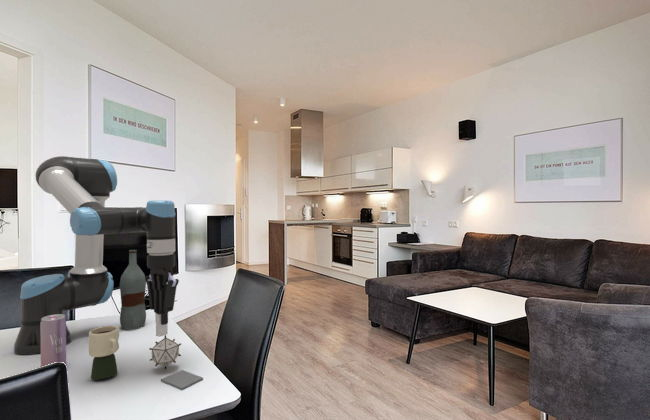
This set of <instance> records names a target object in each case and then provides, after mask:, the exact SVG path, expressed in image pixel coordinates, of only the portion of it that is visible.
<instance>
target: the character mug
mask: <svg viewBox="0 0 650 420" xmlns="http://www.w3.org/2000/svg"><path fill="white" fill-rule="evenodd" d="M119 338H120V327H119V326H117V325H106V326H101V327H96V328H92V329H91V330H90V331H89V332H88V356H90V357H91V358H93V359H92V365H91V371H90V372H91V374H90V378H91V380H94V381H99V380H102V379H109V378H111V377H114V376H116V375H117V374H118V367H117V359H116V355H115V353H117V351H118V350H119V349H120V344H119Z"/></svg>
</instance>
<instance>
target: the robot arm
mask: <svg viewBox="0 0 650 420" xmlns="http://www.w3.org/2000/svg"><path fill="white" fill-rule="evenodd" d="M35 181H36V183H37V185H38V186H39V188H41V190H42V191H44V192H45V193H47V194H50V195H51V196H53V197H54V198H55V199H56V200H57V202H58V203H59V204H60V205H62V207H63V208H64V209H65V210H66V211H67V212H68V213H69V214H70V216H69V225H70V227H71V232H72V233H73V234H75V248H74V249H75V251H74V252H75V253H74V254H75V255H74V266H73V267H72V268H71V269H70V270H69V276H67V277H65V275H64V274H62V273H53V274H47V275H42V276H37V277H33V278H31V279H28V280H26V281H24V282H23V283H22V285H21V289H20V296H19V298H20V328H19V331H18V334H17V337H16V339H15V341H14V344H13V349H14V350H13V351H14V353H15V354H17V355H35V354H36V355H37V354H41V336H40V323H41V319H42V318H43V317H46V316H50V315H56V314H64V315H65V312H66V311H72V310H77V309H81V308H86V307H94V306H97V305H100V304H104V303H106V302H107V301H108V300H109V299H110V298H111V296H112V294H113V291H114V285H115V284H114V283H115V282H114V279H113V275H112V274H111V272H109V271H108V268H107V267H106V266H105V265H103V262H104V238H105V235H115V234H133V233H146V253H147V254H148V255H147V256H146V267H147V269H150V271H149V275H145V280H146V288H147V293H148V302H149V307H150V310H151V311H152V310H153V312H154V313H155V336H156V337H158V338H160V337H163V336H165V335H166V336H167V335H168V331H169V330H168V329H169V328H168V326H169V325H168V323H169V312H172V311H174V307H175V299H176V293H177V286H178V285H179V282H180V281H179V279H178V278H174V273H173V268H174V267H175V266H176V254H175V252H176V209H175V208H176V207H175V202H174V201H172V200H148V201H147V202H146V205H145V206H146V207H143V206H139V207H138V206H136V207H135V206H134V207H106V206H105V205H106V201H107V200H108V199H109V198H110V196H111V195H110V194H111V193H112V192H115V190H116V189H117V186H118V175H117V172H116V169H115V167H114V166H113V164H112V163H111V162H110V161H107V160H102V159H96V158H94V159H93V158H85V157H75V156H73V157H72V156H63V155H60V156H54V157H51V158H48V159H47V160H44V161H43V162H42V163H40V164H39V166H38V167H37V168H36V170H35ZM71 340H72V339H71V332H70V330H69V328H68V325H67V324H66V346H67V345H69V344H70V343H71V342H72V341H71Z"/></svg>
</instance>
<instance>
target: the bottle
mask: <svg viewBox="0 0 650 420" xmlns="http://www.w3.org/2000/svg"><path fill="white" fill-rule="evenodd" d="M128 254H129V255H128V265H127V267H126V268H125V269H124V271H123V273H122V274H121V276H120V281H119V293H120V301H121V307H120V315H119V323H120V327H121V330H123V331H135V330H138V329H141V327H142V328H143V327H145V326H146V325H145V324H146V321H147V320H146V319H147V310H146V304H145V303H146V302H145V299H146V298H145V297H146V288H147V283H146V280H145V277H146V275H145V273H144V272H143V270H142V269H141V267H140V266H139V265H138V263H137V260H138V259H137V249H129V250H128Z"/></svg>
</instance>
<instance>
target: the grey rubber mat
mask: <svg viewBox="0 0 650 420" xmlns="http://www.w3.org/2000/svg"><path fill="white" fill-rule="evenodd" d="M201 381H204V377H202V376H199V375H197V374H195V373H194V374H193V373H191V372H189V371H186V370H184V369H181V370H179V371H177V372H174V373H172V374H170V375H167V376H165V377H162V378H160V382H161V383H162V384H163V383H164V384H166V385H168V386H171V387H173V388H175V389H177V390H180V391H183V390H185V389H188V388H189V387H192V386H194V385H195V384H198V383H200V382H201Z"/></svg>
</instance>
